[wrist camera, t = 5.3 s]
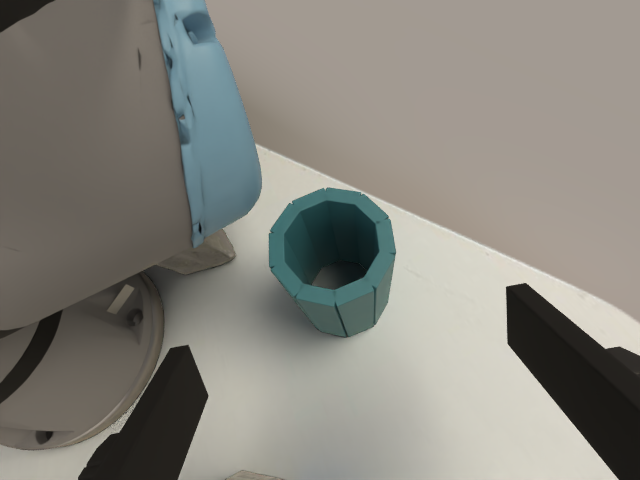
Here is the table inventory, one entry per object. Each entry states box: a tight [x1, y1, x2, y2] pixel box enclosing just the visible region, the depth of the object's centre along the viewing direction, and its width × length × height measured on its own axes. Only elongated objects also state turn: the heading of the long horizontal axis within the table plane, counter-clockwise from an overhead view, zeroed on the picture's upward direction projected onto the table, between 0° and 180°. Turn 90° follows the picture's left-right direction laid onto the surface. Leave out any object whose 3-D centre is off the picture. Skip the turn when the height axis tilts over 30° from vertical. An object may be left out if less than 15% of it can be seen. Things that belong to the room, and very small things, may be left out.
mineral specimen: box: [156, 229, 236, 274], centre depth 29 cm, size 7×9×8 cm
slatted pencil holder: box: [269, 188, 396, 337], centre depth 24 cm, size 7×7×10 cm
